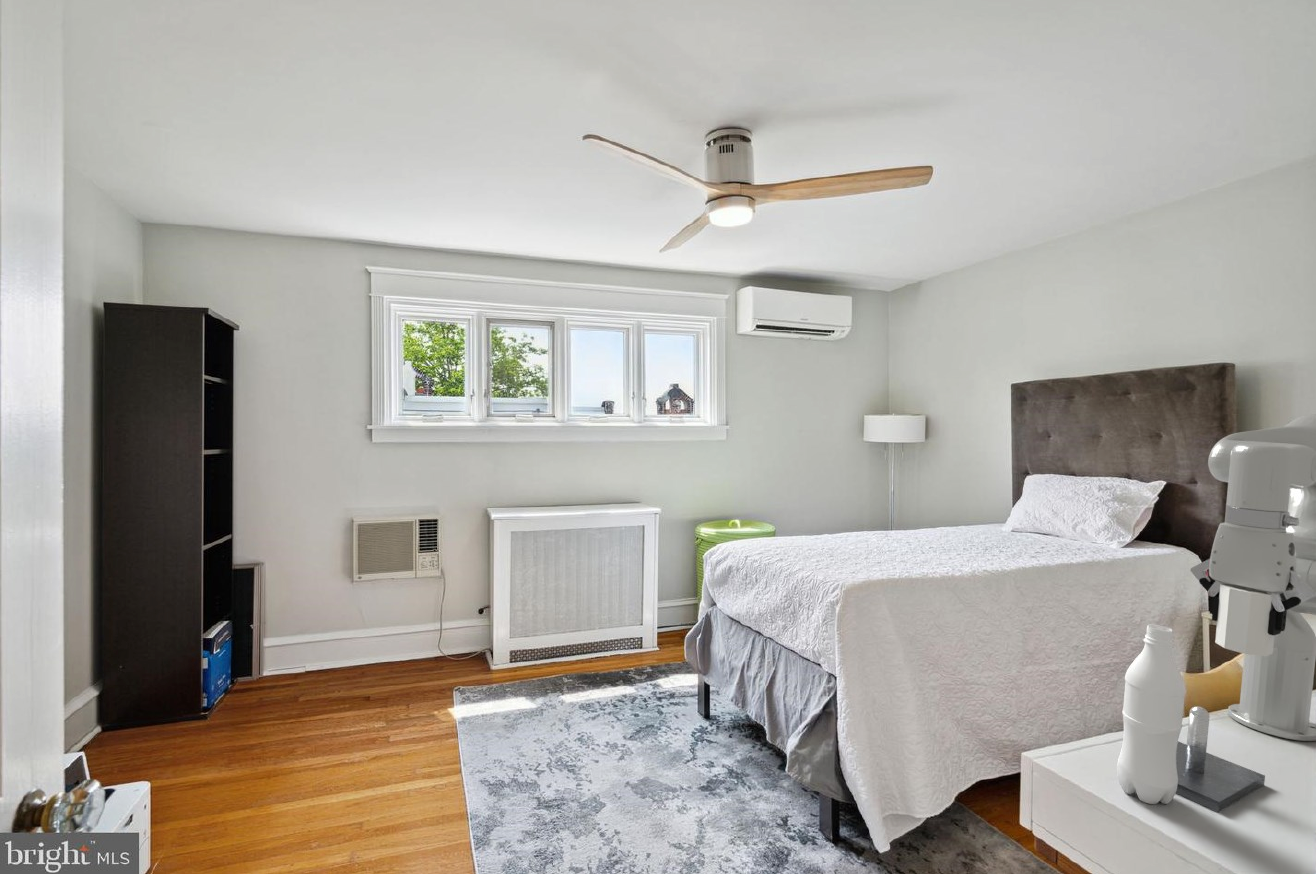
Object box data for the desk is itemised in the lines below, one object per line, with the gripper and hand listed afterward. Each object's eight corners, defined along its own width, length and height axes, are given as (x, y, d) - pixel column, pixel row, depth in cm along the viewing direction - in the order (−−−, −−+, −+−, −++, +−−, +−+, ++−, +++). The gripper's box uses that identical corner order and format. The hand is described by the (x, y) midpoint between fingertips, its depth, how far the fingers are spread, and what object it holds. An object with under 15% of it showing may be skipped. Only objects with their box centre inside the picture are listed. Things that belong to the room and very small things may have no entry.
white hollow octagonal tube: (1227, 638, 114) (1232, 581, 114) (1277, 652, 108) (1283, 591, 108) (1209, 644, 111) (1215, 585, 110) (1261, 658, 105) (1266, 596, 105)
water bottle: (1186, 813, 93) (1202, 639, 92) (1129, 805, 95) (1144, 633, 94) (1159, 785, 100) (1173, 623, 99) (1106, 777, 102) (1120, 617, 101)
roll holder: (1172, 748, 112) (1178, 683, 112) (1264, 785, 102) (1271, 714, 102) (1124, 770, 104) (1130, 700, 104) (1218, 812, 94) (1225, 735, 94)
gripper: (1336, 527, 103) (1325, 641, 104) (1201, 509, 118) (1192, 608, 119) (1318, 530, 99) (1307, 648, 100) (1181, 511, 114) (1173, 613, 115)
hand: (1245, 625), depth 109 cm, fingers closed on white hollow octagonal tube, 6 cm apart
